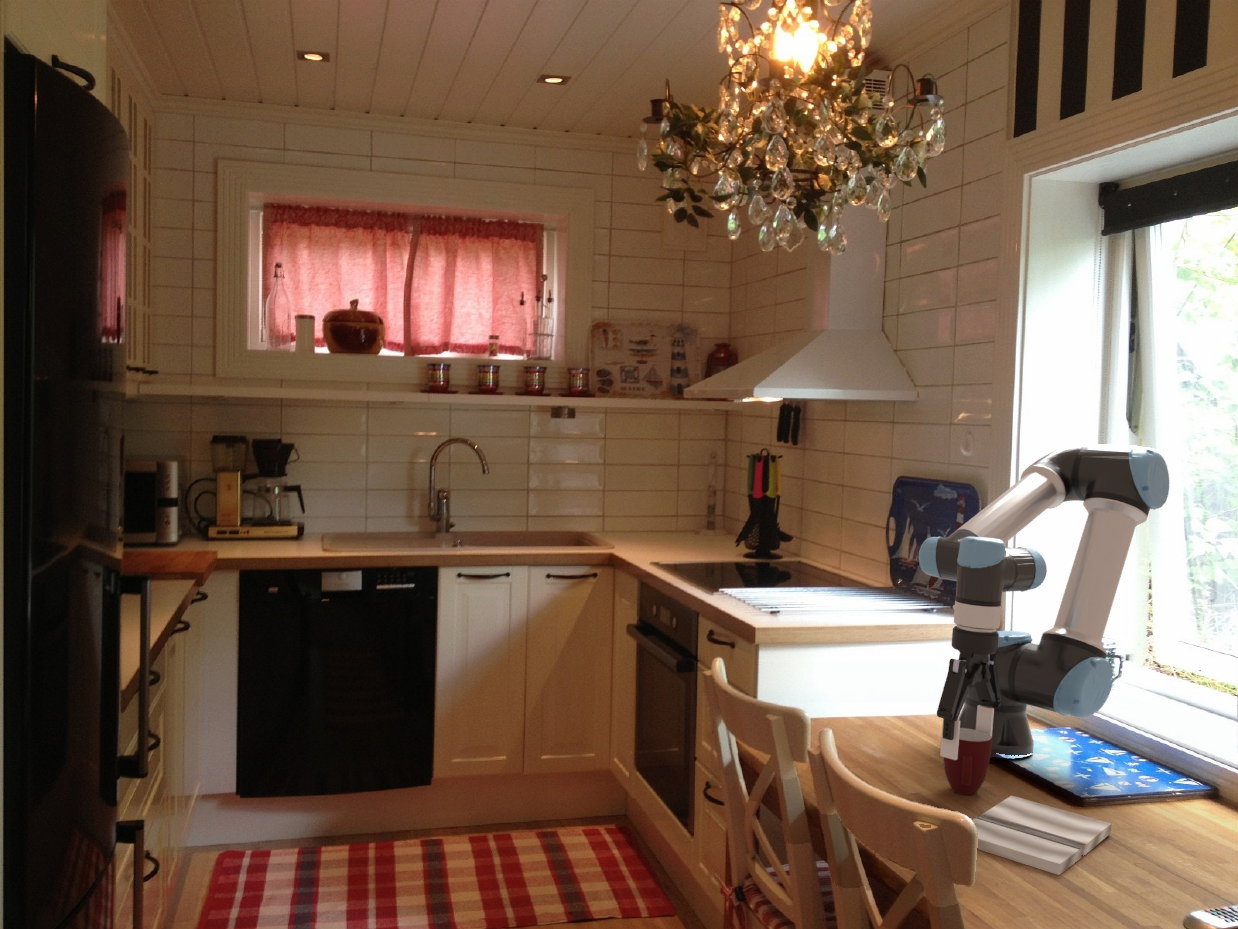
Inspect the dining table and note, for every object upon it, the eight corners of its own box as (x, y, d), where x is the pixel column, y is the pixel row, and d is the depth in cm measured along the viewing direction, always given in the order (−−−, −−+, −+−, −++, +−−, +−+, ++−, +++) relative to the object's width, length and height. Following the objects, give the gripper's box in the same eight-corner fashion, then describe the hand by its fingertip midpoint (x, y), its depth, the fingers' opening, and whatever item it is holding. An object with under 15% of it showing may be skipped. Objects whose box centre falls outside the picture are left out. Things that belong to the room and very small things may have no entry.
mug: (995, 807, 180) (999, 748, 180) (945, 802, 181) (949, 743, 181) (983, 785, 191) (987, 730, 190) (936, 781, 192) (940, 725, 191)
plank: (1010, 804, 181) (1011, 795, 180) (1110, 833, 170) (1111, 822, 170) (980, 824, 172) (980, 814, 172) (1083, 856, 161) (1084, 845, 161)
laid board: (977, 826, 171) (977, 816, 171) (1080, 858, 160) (1081, 847, 160) (952, 841, 164) (953, 830, 164) (1059, 875, 154) (1059, 863, 154)
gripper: (985, 617, 196) (976, 733, 197) (921, 631, 178) (912, 758, 179) (1026, 624, 191) (1016, 743, 192) (965, 639, 173) (955, 770, 174)
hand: (966, 750), depth 185 cm, fingers open, 13 cm apart
